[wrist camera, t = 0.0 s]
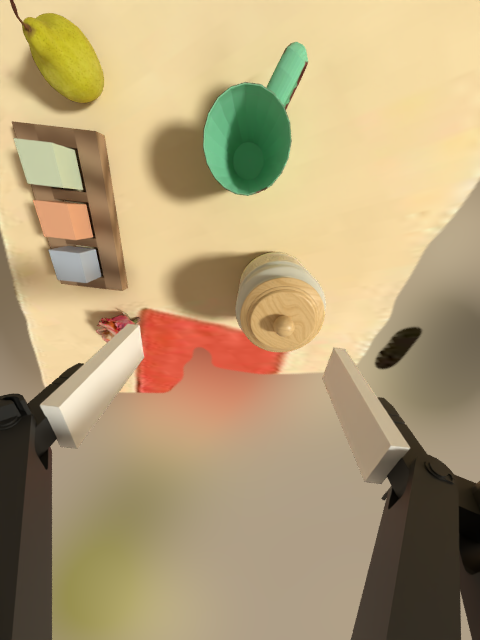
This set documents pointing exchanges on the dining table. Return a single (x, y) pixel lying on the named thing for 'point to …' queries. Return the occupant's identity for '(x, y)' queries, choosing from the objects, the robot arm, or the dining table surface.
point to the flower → (114, 326)
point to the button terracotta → (63, 219)
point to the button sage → (49, 164)
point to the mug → (253, 128)
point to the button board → (85, 198)
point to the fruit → (63, 56)
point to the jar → (279, 303)
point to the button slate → (75, 264)
